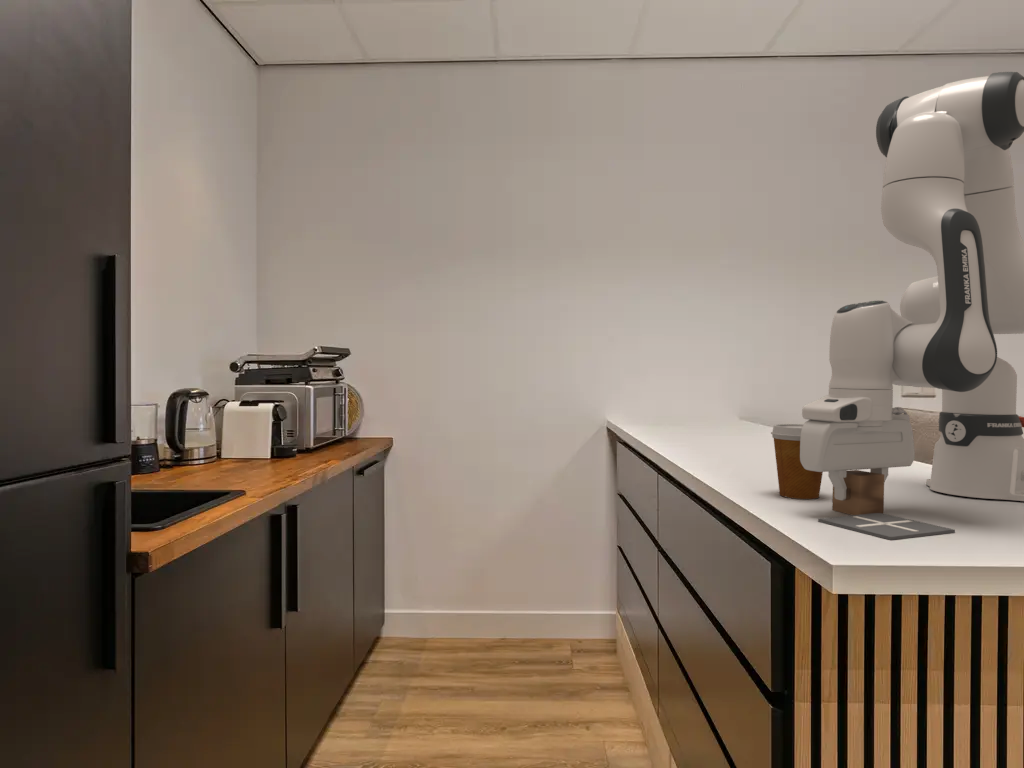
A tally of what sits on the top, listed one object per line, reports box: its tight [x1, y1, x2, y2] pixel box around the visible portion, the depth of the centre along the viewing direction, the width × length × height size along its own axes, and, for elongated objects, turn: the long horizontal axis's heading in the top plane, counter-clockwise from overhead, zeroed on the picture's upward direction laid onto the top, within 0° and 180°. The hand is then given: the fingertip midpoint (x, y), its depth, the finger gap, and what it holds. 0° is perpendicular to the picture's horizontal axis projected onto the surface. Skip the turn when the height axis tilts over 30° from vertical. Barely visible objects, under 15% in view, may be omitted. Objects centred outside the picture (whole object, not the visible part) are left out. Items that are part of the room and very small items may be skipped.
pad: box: [817, 513, 956, 541], centre depth 101 cm, size 12×12×1 cm
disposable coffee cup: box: [770, 423, 824, 500], centre depth 125 cm, size 10×10×12 cm
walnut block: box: [831, 469, 885, 516], centre depth 112 cm, size 5×5×6 cm
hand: (858, 498), depth 112 cm, fingers closed on walnut block, 5 cm apart
